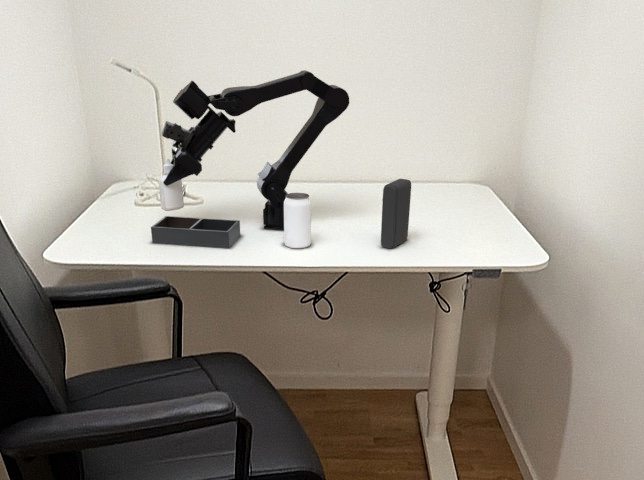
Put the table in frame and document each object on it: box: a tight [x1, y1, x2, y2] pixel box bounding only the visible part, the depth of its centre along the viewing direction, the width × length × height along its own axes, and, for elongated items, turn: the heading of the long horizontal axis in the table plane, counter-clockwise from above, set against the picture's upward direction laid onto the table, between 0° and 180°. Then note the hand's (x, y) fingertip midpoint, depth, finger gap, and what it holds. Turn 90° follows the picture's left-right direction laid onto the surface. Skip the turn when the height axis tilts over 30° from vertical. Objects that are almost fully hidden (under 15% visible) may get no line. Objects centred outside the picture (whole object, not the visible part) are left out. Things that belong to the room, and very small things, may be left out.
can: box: [283, 192, 312, 250], centre depth 178 cm, size 6×6×12 cm
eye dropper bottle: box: [158, 158, 185, 212], centre depth 182 cm, size 4×6×12 cm
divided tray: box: [150, 215, 241, 249], centre depth 182 cm, size 10×19×4 cm, turn 80°
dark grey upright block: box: [380, 178, 412, 249], centre depth 179 cm, size 9×4×15 cm, turn 150°
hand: (164, 182), depth 181 cm, fingers closed on eye dropper bottle, 4 cm apart
